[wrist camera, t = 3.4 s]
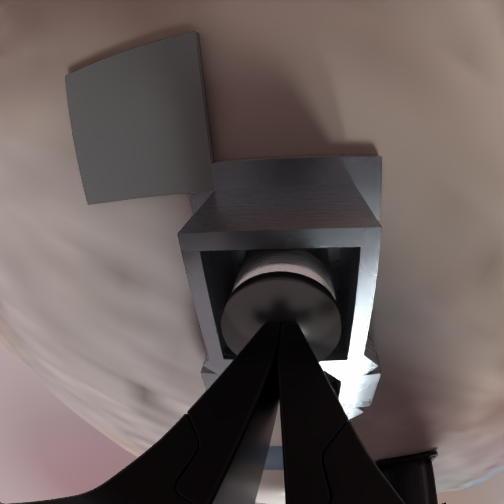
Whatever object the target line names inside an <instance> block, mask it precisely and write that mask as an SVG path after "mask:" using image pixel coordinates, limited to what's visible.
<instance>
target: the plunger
mask: <svg viewBox="0 0 504 504" xmlns="http://www.w3.org/2000/svg"><path fill="white" fill-rule="evenodd" d="M266 322H279V323H280V324H282V323H284V322H296V323H298V324H299V326H300V328H301V330H302V332H303V333H304V335H305V337H306V339H307V341H308V343H309V345H310V347H311V348H312V350H313V352H314V354H315V356H316V358H317V360H318V362H320V361H322V360H323V359H325V358H326V357H327V356H328V355H329V354H331V353H332V351H333V350H334V349H335V347H336V346H337V344H338V342H339V339H340V336H341V320H340V313H339V307H338V305H337V302H336V298H335V291H334V285H333V278H332V272H331V266H330V260H329V254H328V248H292V249H252V250H246V252H245V255H244V258H243V261H242V264H241V267H240V270H239V273H238V276H237V279H236V282H235V285H234V288H233V291H232V293H231V295H230V296H229V298H228V300H227V303H226V306H225V309H224V312H223V314H222V319H221V331H222V335H223V338H224V340H225V342H226V343H227V345H228V346H229V348H230V349H231V350H232V351H233V352H234V353H235V354H236V355H238V354H239V353H240V352H241V350H242V349H243V348H244V347H245V346H246V344H247V343H248V342H249V341H250V340H251V338H252V337H253V336H254V335H255V334H256V332H257V331H258V330H259V329H260V328H261V326H262V325H263V324H264V323H266Z"/></svg>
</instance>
